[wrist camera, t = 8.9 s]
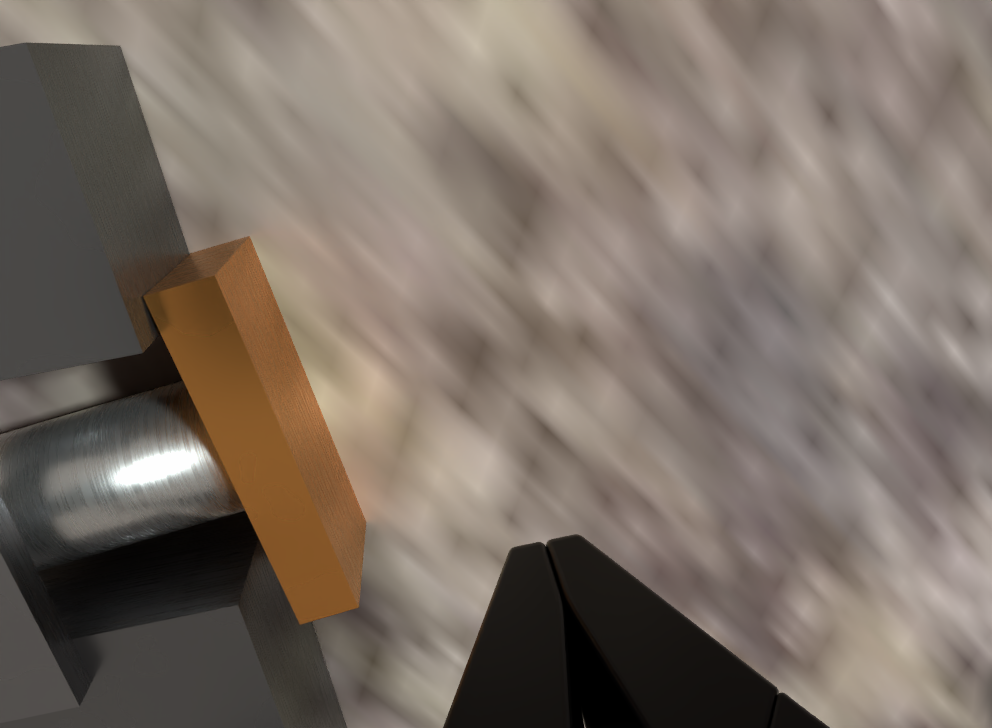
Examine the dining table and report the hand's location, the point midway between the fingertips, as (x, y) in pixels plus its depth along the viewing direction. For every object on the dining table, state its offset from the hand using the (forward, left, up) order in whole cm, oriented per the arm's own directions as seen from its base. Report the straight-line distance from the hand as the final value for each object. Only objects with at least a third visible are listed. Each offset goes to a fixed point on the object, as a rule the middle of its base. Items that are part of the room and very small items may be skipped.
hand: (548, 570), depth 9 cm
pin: (+9, +1, -8) cm, 12 cm away
